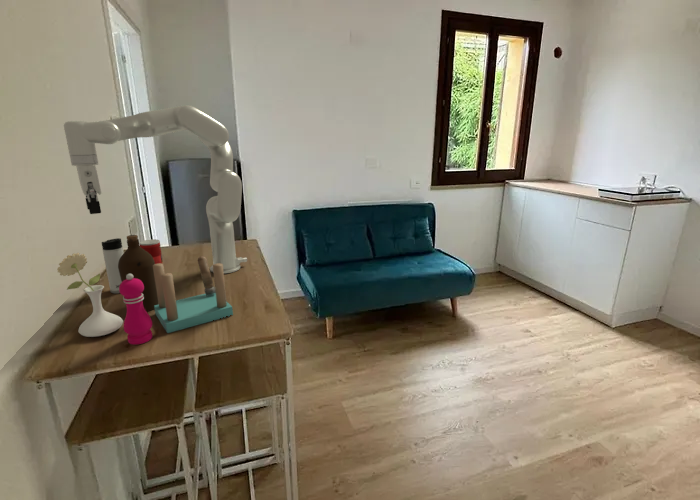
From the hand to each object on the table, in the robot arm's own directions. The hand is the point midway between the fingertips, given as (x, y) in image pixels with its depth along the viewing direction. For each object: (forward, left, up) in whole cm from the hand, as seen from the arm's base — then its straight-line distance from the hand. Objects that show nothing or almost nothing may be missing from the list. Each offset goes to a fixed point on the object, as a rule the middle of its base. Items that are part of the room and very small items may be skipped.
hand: (94, 211), depth 135 cm
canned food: (-20, -25, -31) cm, 44 cm away
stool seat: (-20, +36, -31) cm, 51 cm away
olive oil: (-8, +20, -31) cm, 38 cm away
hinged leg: (-27, +31, -27) cm, 49 cm away
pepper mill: (-3, +43, -31) cm, 53 cm away
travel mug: (-4, -1, -31) cm, 31 cm away
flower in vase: (+6, +31, -31) cm, 44 cm away
